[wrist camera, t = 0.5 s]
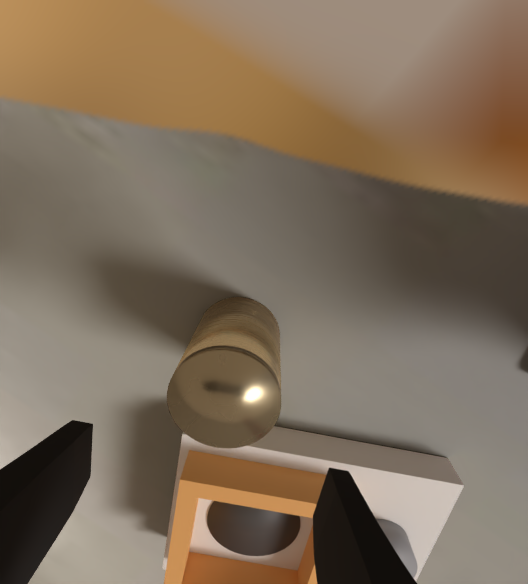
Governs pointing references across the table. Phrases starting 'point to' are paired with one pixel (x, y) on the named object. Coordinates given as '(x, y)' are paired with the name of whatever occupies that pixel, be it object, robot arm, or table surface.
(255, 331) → the bead tin
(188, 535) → the white fixture board
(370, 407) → the table surface
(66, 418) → the table surface
